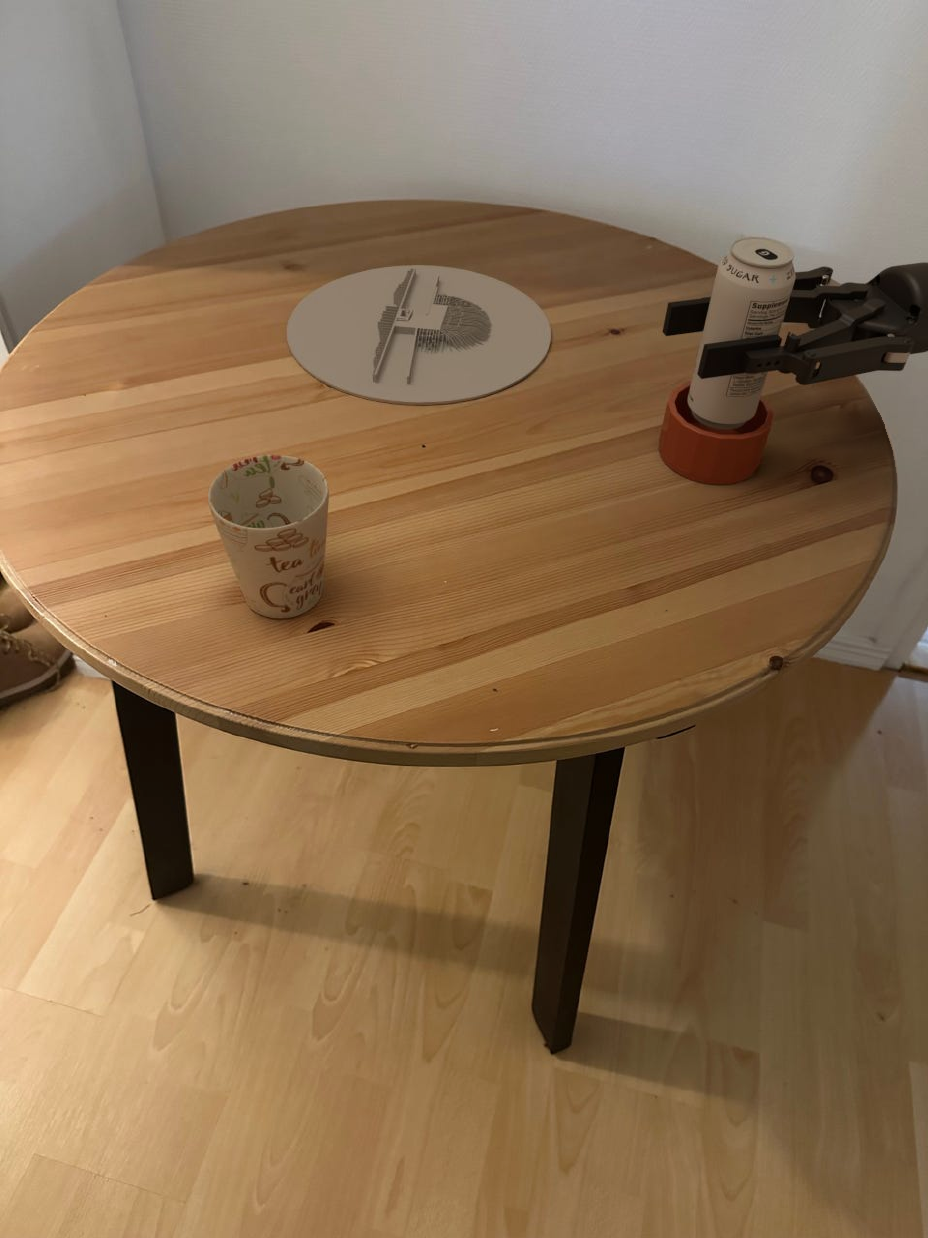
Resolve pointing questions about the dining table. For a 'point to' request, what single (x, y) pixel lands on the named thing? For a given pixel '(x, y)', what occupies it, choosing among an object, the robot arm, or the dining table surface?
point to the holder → (712, 443)
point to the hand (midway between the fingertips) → (684, 339)
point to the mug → (273, 531)
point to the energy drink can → (742, 325)
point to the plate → (418, 335)
